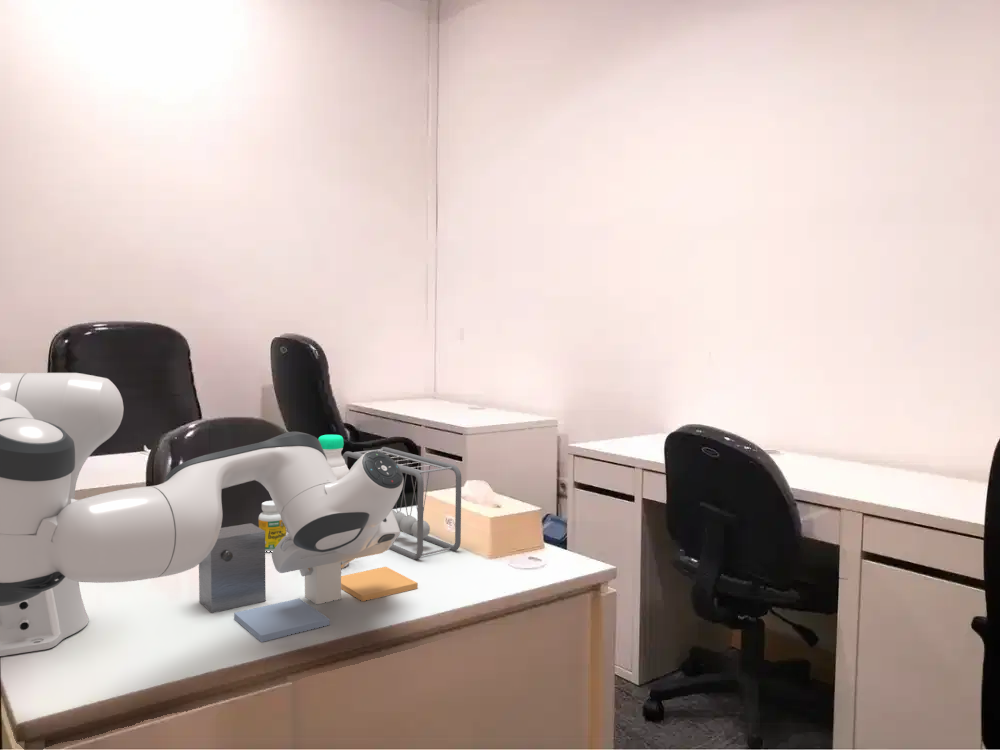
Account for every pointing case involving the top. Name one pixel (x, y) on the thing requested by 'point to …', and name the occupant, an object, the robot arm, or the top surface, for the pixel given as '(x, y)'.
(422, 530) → the newton's cradle
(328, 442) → the water bottle
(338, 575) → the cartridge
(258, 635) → the blue pad
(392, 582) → the orange pad
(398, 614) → the top surface
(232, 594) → the control box
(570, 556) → the top surface
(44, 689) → the top surface
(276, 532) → the supplement bottle
